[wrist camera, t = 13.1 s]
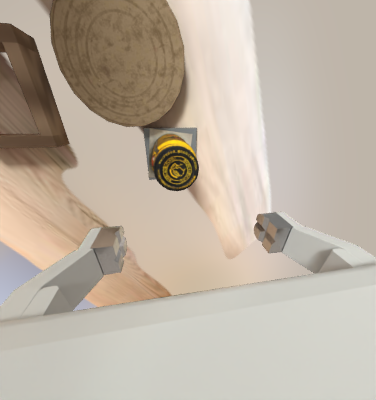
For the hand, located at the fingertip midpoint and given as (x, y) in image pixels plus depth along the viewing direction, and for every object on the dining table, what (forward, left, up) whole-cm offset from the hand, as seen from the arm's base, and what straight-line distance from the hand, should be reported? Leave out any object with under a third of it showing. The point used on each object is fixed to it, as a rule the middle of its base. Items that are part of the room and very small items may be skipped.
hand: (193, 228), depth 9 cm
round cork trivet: (-13, -6, -23) cm, 27 cm away
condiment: (0, 0, -22) cm, 22 cm away
